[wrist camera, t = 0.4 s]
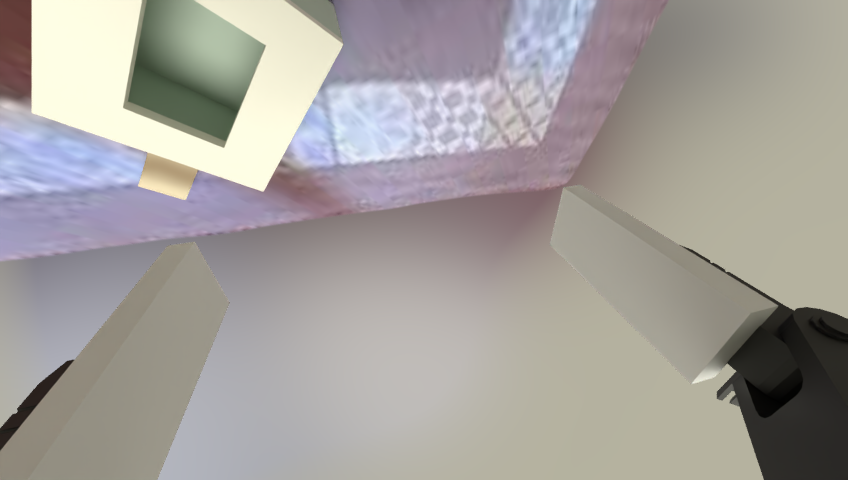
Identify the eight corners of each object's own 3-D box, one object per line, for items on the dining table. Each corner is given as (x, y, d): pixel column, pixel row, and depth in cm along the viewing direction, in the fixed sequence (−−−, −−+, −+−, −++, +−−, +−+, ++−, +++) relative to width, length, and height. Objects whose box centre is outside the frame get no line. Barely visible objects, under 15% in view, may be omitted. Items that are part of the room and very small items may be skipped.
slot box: (121, -169, 18) (31, -188, 12) (333, 5, 27) (343, 44, 21) (95, 54, 26) (31, 112, 19) (269, 134, 34) (263, 191, 28)
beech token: (165, 113, 30) (153, 134, 28) (211, 133, 33) (204, 154, 30) (150, 163, 34) (138, 186, 31) (193, 178, 36) (185, 200, 34)
